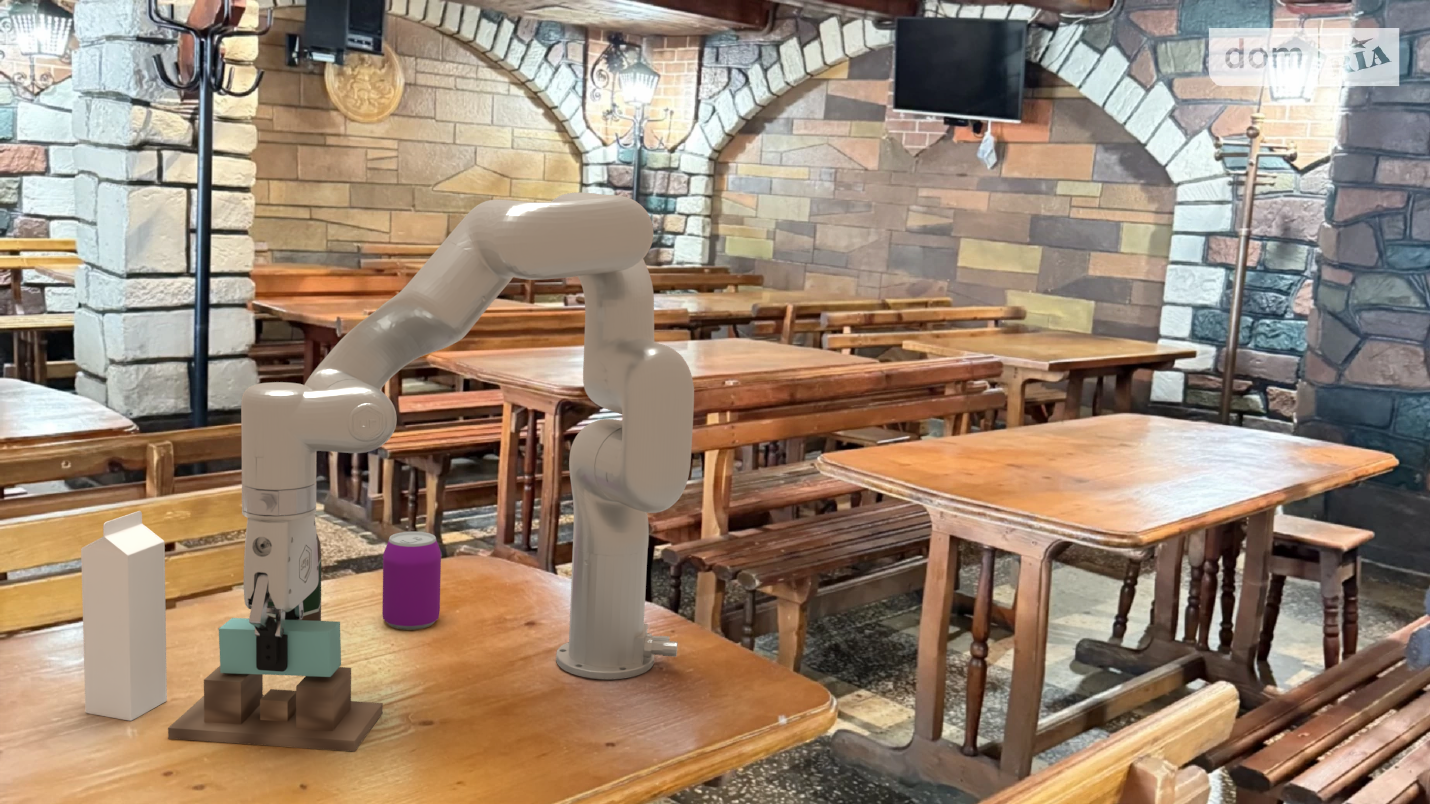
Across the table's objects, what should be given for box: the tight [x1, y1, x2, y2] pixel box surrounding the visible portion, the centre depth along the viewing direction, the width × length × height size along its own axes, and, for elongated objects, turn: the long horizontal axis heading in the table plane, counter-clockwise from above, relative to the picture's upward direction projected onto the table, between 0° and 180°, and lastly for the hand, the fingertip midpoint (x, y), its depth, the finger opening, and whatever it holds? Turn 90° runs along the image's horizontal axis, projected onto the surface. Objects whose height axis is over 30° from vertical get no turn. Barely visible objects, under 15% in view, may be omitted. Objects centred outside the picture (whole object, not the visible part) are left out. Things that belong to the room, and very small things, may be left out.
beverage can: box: [381, 531, 442, 631], centre depth 172 cm, size 8×8×12 cm
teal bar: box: [218, 617, 342, 677], centre depth 137 cm, size 12×4×5 cm, turn 88°
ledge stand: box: [167, 665, 384, 753], centre depth 138 cm, size 20×10×6 cm, turn 88°
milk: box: [80, 510, 168, 722], centre depth 139 cm, size 6×6×22 cm
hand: (279, 660), depth 137 cm, fingers open, 3 cm apart
